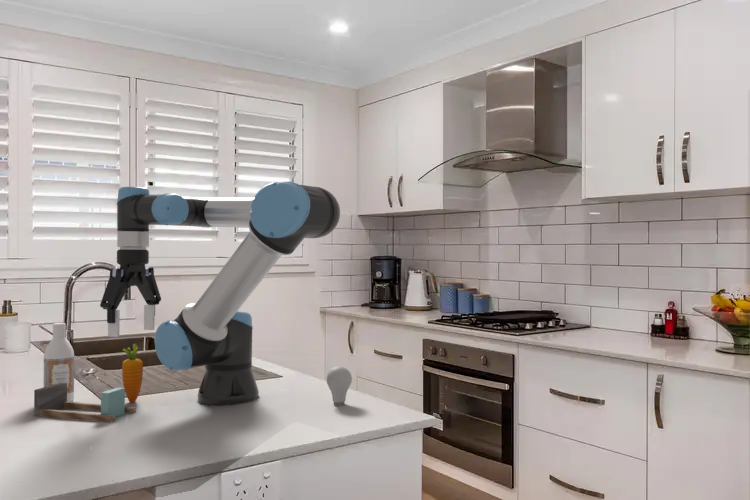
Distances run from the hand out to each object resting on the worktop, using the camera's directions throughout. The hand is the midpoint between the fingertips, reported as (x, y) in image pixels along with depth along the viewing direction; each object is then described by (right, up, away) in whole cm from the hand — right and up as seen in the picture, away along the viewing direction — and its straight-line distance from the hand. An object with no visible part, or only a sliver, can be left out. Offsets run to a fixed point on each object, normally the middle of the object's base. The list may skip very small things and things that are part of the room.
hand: (132, 333), depth 159 cm
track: (-6, -18, -11) cm, 22 cm away
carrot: (0, -18, 0) cm, 18 cm away
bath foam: (-19, -18, +2) cm, 26 cm away
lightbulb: (+52, -18, -7) cm, 56 cm away
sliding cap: (0, -18, -13) cm, 22 cm away
